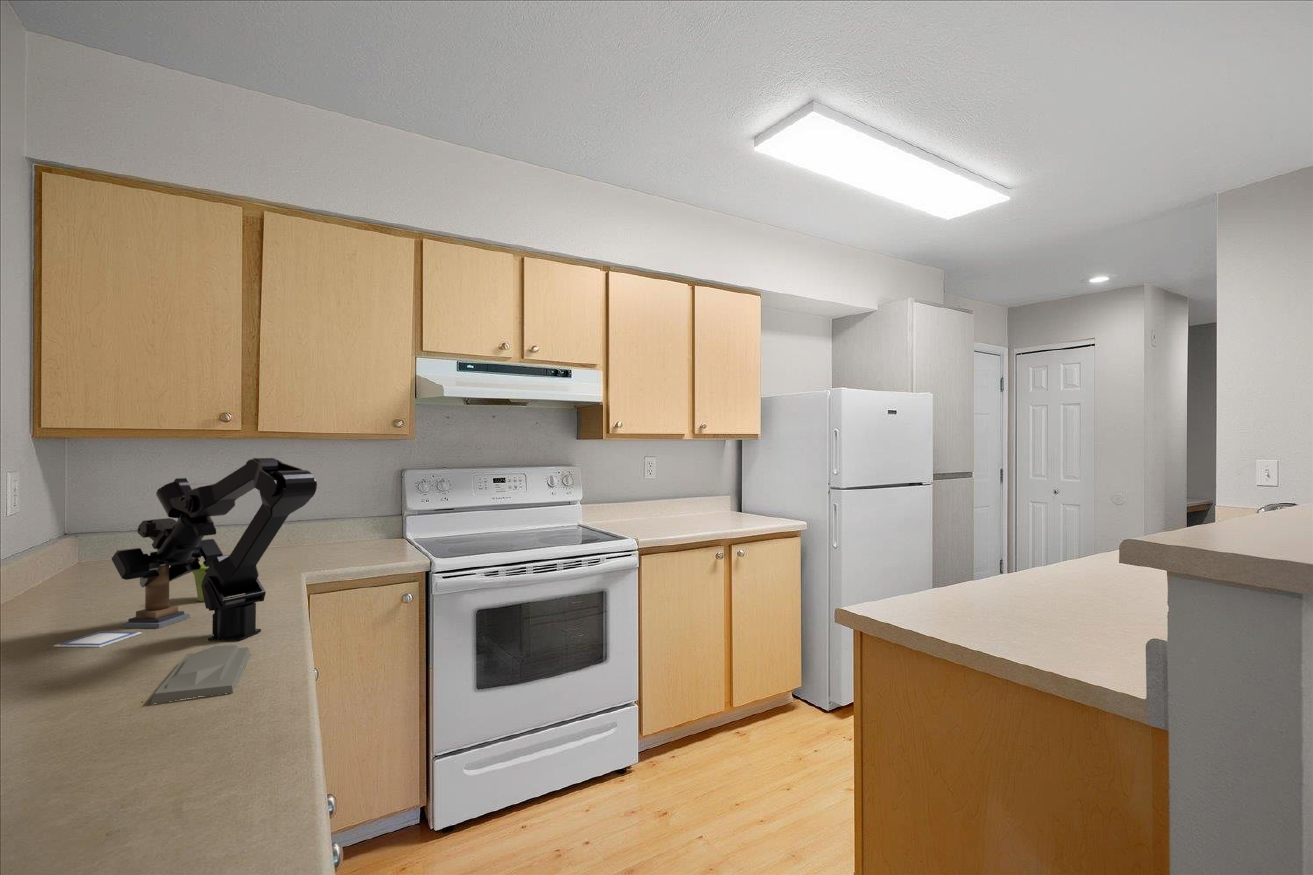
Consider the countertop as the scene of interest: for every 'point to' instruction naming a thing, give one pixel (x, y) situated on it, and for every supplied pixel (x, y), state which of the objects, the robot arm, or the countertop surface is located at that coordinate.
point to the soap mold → (204, 674)
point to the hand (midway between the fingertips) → (153, 583)
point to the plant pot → (200, 580)
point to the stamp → (157, 596)
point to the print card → (98, 639)
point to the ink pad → (155, 621)
